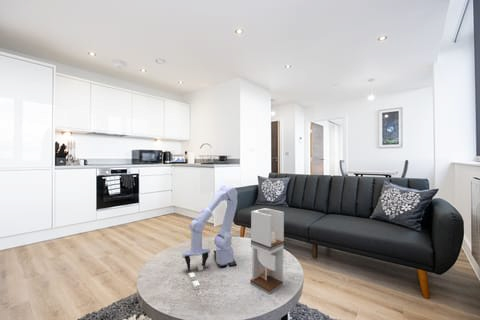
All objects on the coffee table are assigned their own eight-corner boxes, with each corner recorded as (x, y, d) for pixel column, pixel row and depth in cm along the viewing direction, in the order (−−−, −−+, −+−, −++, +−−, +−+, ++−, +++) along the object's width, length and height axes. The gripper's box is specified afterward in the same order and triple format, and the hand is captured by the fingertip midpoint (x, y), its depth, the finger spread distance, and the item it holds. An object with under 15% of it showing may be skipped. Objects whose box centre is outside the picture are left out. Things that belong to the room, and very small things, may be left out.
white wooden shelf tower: (250, 284, 106) (251, 211, 106) (264, 276, 113) (265, 208, 113) (269, 294, 98) (270, 215, 98) (282, 285, 105) (283, 212, 105)
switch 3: (201, 266, 119) (201, 263, 119) (203, 269, 116) (203, 266, 116) (196, 267, 118) (196, 264, 118) (198, 270, 115) (198, 267, 115)
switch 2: (197, 284, 102) (197, 280, 102) (199, 288, 99) (199, 284, 99) (192, 285, 101) (192, 281, 101) (194, 290, 98) (194, 285, 98)
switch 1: (193, 275, 110) (193, 272, 110) (195, 279, 106) (195, 276, 106) (188, 276, 109) (188, 273, 109) (190, 280, 105) (190, 277, 105)
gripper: (184, 247, 110) (183, 275, 109) (212, 243, 116) (211, 269, 116) (181, 242, 116) (181, 268, 116) (208, 239, 122) (207, 263, 122)
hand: (196, 268), depth 116 cm, fingers open, 7 cm apart
